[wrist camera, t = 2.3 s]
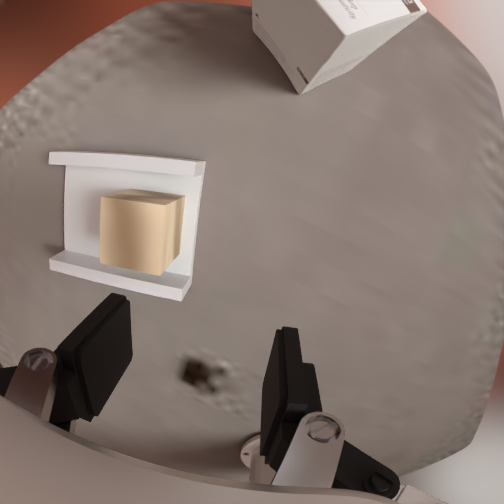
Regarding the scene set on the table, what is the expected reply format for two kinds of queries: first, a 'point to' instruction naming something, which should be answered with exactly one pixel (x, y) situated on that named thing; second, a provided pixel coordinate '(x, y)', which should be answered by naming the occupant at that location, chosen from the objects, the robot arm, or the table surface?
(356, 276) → the table surface
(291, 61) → the skincare box
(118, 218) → the birch block
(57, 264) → the u-shaped channel
